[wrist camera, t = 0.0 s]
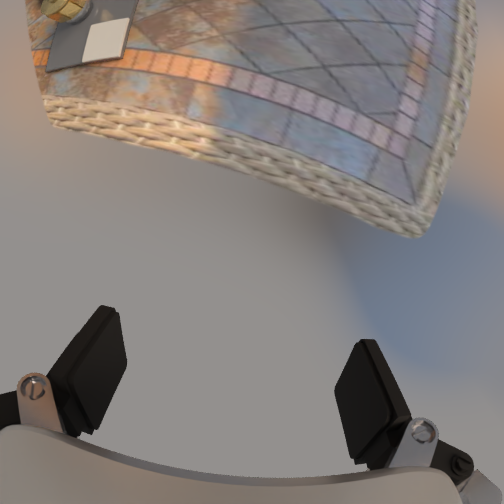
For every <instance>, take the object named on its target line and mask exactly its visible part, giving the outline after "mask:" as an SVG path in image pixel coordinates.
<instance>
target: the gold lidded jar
mask: <svg viewBox="0 0 504 504" xmlns="http://www.w3.org/2000/svg"><path fill="white" fill-rule="evenodd" d="M85 3H86V0H44V1H43V3H42V5H41V13H42V14H44V15H46V16H47V17H49V18H51V19H53V20H56V21H58V22H60V23H63V22H66V21H69V20H72V19H73V18H74V17H75V16H76V15H77V14H78V13H79V12H80V11H81V10H82V8H84V5H85Z"/></svg>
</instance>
